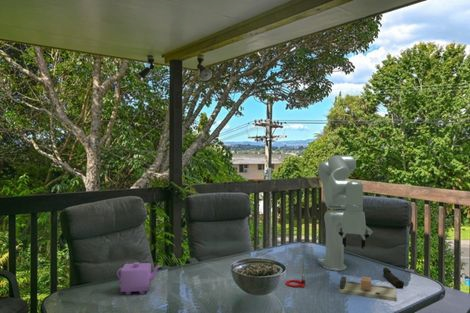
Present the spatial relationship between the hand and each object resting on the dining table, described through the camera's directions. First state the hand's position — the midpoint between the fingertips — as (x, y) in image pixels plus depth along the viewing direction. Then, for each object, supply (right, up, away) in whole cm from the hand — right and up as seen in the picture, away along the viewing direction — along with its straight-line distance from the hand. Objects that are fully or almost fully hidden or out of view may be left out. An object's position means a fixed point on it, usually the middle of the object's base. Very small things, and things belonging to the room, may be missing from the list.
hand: (353, 246), depth 163 cm
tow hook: (-26, -20, +6) cm, 33 cm away
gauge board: (+5, -20, -2) cm, 21 cm away
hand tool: (+22, -20, +11) cm, 32 cm away
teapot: (-98, -19, -3) cm, 100 cm away
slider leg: (+5, -18, -2) cm, 19 cm away
